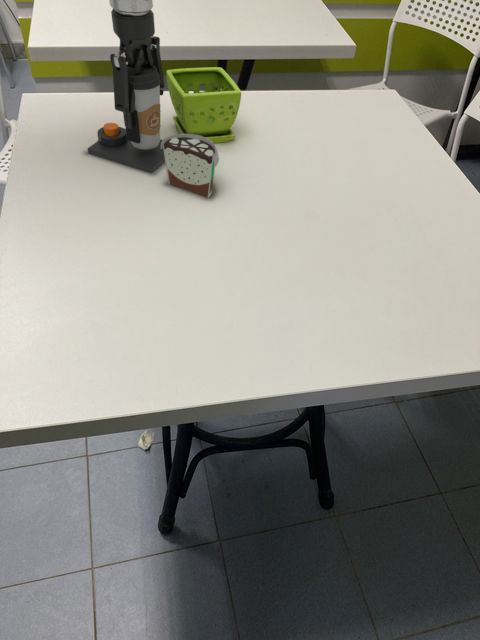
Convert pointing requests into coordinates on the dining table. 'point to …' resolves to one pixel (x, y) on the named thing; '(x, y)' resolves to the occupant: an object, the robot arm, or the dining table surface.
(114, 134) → the button
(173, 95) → the flower pot
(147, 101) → the coffee cup
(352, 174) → the dining table surface
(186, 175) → the food container
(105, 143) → the dark grey flat block
